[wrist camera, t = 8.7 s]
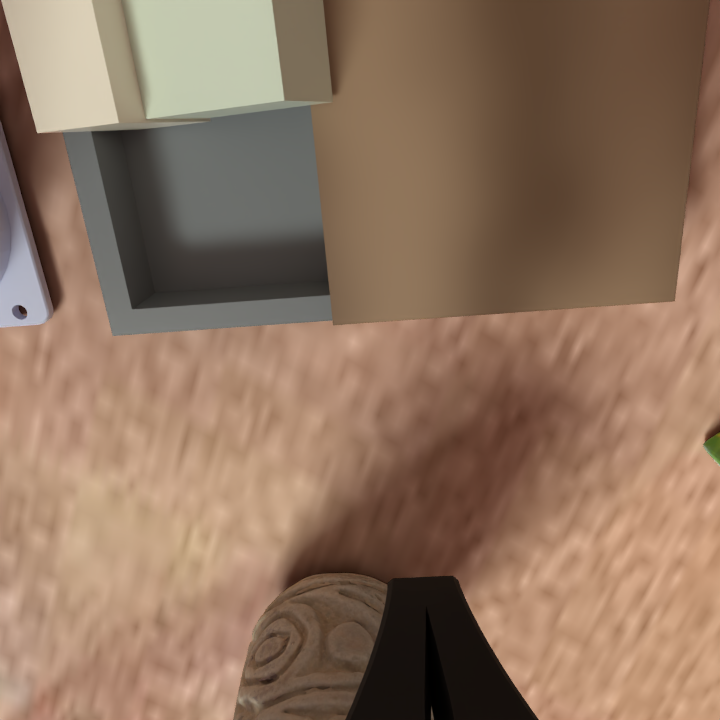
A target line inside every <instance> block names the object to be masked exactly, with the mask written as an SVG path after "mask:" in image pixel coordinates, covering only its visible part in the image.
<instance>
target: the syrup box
mask: <svg viewBox="0 0 720 720" xmlns="http://www.w3.org/2000/svg"><path fill="white" fill-rule="evenodd" d="M703 447H704V449H705V450H706V451H707V452H708V453H709V455H710V456H711V457H712V458H713V459H714V461H715V462H716V463H717V464H718V465H719V466H720V433H718V434H716V435H715V436H713V437H712V438H710V439H708V440H707V441H706V442H705V443H704V444H703Z"/></svg>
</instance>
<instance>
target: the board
mask: <svg viewBox="0 0 720 720" xmlns="http://www.w3.org/2000/svg"><path fill="white" fill-rule="evenodd" d="M709 4H710V0H323V6H324V16H325V26H326V36H327V46H328V56H329V66H330V76H331V87H332V97H333V102H330V103H323V104H315V105H310V106H311V115H312V125H313V135H314V145H315V154H316V164H317V174H318V184H319V193H320V203H321V213H322V223H323V232H324V242H325V252H326V262H327V271H328V281H329V291H330V301H331V310H332V320H333V325H343V324H357V323H372V322H386V321H400V320H415V319H429V318H443V317H457V316H472V315H486V314H500V313H515V312H529V311H543V310H557V309H572V308H586V307H600V306H615V305H629V304H643V303H657V302H672V301H675V295H676V286H677V277H678V269H679V260H680V252H681V243H682V235H683V226H684V218H685V209H686V200H687V192H688V183H689V175H690V166H691V158H692V149H693V141H694V132H695V123H696V115H697V106H698V98H699V89H700V81H701V72H702V64H703V55H704V47H705V38H706V29H707V21H708V12H709Z"/></svg>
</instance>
